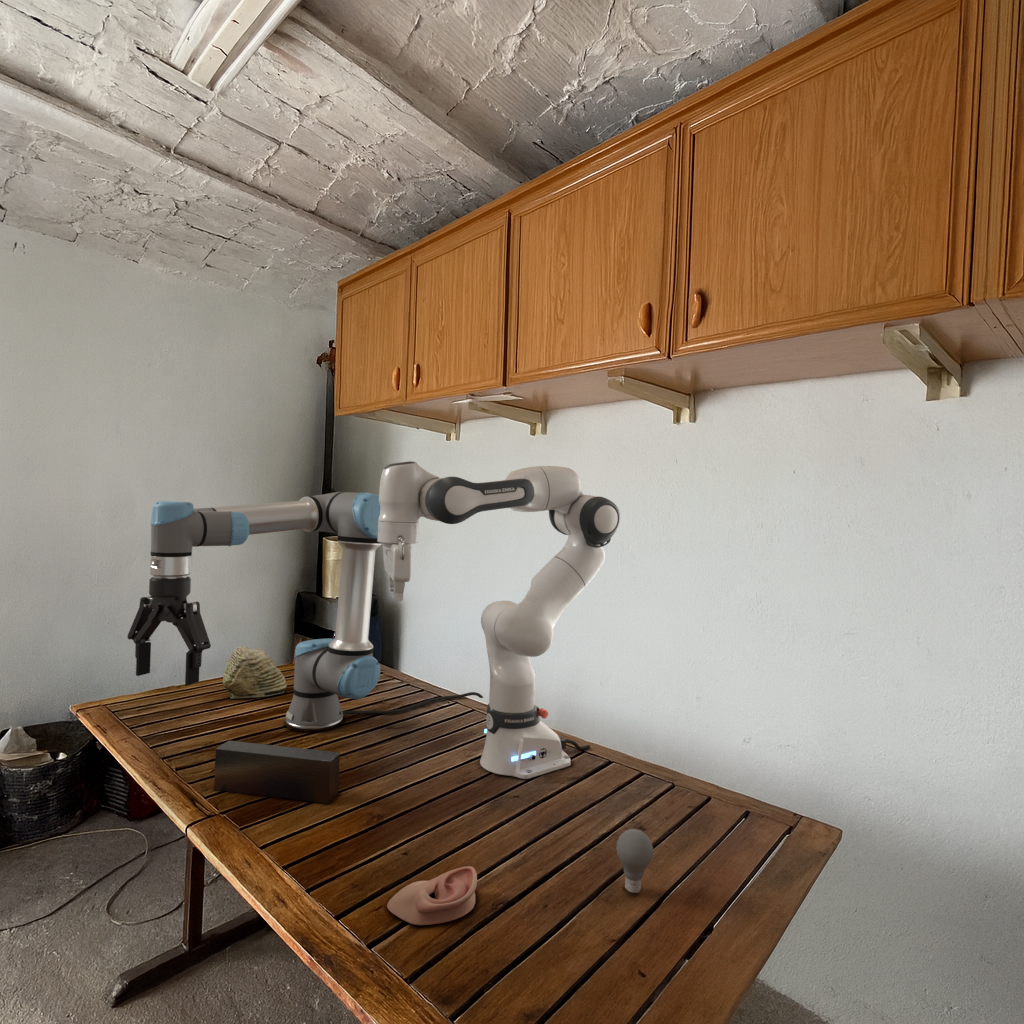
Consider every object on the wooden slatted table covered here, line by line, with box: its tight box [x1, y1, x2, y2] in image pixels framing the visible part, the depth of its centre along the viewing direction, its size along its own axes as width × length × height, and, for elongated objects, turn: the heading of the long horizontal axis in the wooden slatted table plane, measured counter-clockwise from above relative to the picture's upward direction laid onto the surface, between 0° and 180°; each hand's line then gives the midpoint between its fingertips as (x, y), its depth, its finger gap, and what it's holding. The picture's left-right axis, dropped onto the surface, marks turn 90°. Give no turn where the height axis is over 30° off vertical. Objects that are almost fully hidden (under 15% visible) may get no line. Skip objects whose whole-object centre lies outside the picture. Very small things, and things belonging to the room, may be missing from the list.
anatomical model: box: [386, 865, 478, 926], centre depth 100 cm, size 13×4×12 cm
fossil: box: [222, 646, 288, 699], centre depth 198 cm, size 9×18×15 cm, turn 132°
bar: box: [213, 740, 341, 805], centre depth 135 cm, size 26×5×9 cm, turn 81°
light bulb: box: [615, 828, 654, 894], centre depth 106 cm, size 6×6×10 cm
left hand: (167, 678), depth 131 cm, fingers open, 13 cm apart
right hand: (395, 597), depth 140 cm, fingers open, 8 cm apart
